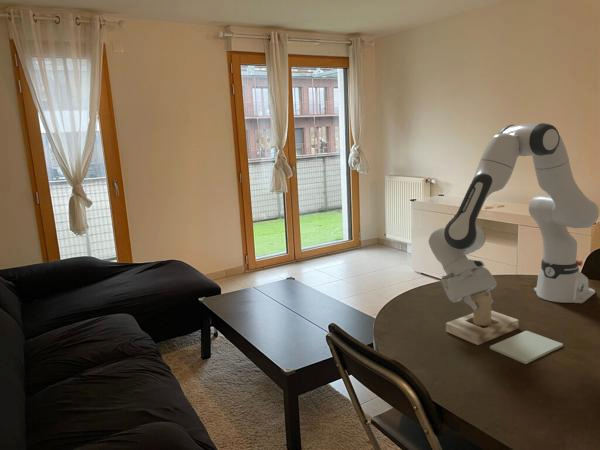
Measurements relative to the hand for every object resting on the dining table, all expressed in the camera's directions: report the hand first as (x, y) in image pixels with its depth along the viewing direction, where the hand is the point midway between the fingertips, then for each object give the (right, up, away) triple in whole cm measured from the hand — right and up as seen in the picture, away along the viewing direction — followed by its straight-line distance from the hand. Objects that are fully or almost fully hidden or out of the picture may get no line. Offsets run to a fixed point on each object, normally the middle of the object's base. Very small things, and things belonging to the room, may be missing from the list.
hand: (483, 306), depth 153 cm
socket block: (0, -8, +2) cm, 8 cm away
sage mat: (+8, -10, -11) cm, 18 cm away
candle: (0, -6, +2) cm, 6 cm away
